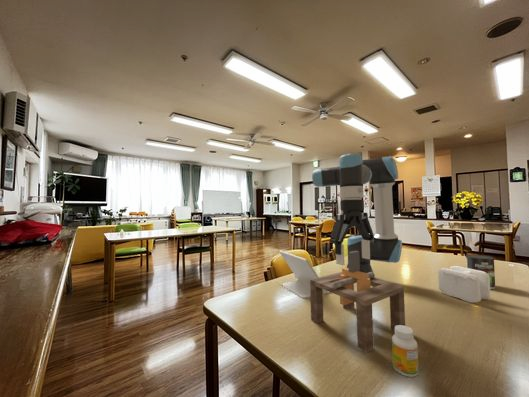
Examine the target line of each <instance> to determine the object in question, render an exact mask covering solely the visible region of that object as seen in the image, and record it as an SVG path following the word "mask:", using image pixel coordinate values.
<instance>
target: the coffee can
mask: <svg viewBox="0 0 529 397" xmlns="http://www.w3.org/2000/svg"><path fill="white" fill-rule="evenodd" d="M465 266H466V267H465V268H469V269H474V270H479V271H483V272H486V273H487V274H488V275H489V277H490V290H494V289H496V288H497V287H496V273H495V270H496V269H495V257H493V256H490V255H484V254H475V253H474V254H472V253H471V254H465Z"/></svg>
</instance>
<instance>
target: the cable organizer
mask: <svg viewBox="0 0 529 397" xmlns="http://www.w3.org/2000/svg"><path fill="white" fill-rule="evenodd" d="M437 274H438V275H437V278H438V280H437V282H438V290H439V291H440V292H441V293H443V294H444V295H446V296H449V297H451V298H453V297H455V298H457V299H461V300H462V301H463V302H467V303H472V304H473V303H479V302H481V300H487V299H489V298H491V297H492V296H491V289H490V277H489V275H488V274H487V273H486V272H483V271H479V270H474V269H469V268H466V267H464V266H459V265H452V266H450V268H447V267H441V268H439V269H438V270H437Z"/></svg>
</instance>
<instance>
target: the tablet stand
mask: <svg viewBox="0 0 529 397" xmlns="http://www.w3.org/2000/svg"><path fill="white" fill-rule="evenodd" d="M278 252H279V254H280V255H281V257H282V258H283V259H284V261H285V263H286V265H287V266H288V267H289V268H290V270H291V272H292V273H293V274H294V276H295V277H294V278H297V279H298V280H297V281H294V282H288V283H287V282H286V283H283V284H282V285H283V286H284V287H283V286H282V287H283V288H285V287H286V288H287V289H286V288H285V289H286V290H288V289H289V290H288V291H290V292H291V291H292V292H291V293H293V294H294V293H295V295H297V297H299V298H301V299H302V300H303V299H304V298H305V299H308V298H311V296H310V280H311V279H315V278H319V275H318V274H317V272H316V270H315V269H314V268H313V266H312V265H311V263H310V262H309V260H308V259H307V258H305V257H300V256H298V255H295V254H292V253H290V252H287V251H284V250H281V249H280V250H279V251H278ZM330 293H331V292H329V291H326V290H324V289H323V295H326V294H330Z"/></svg>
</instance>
